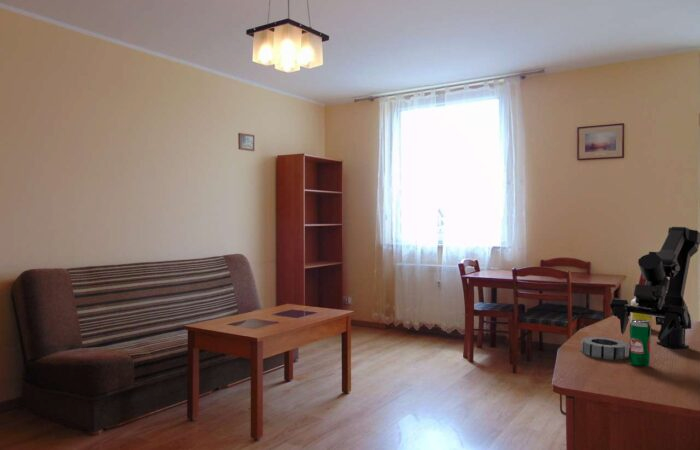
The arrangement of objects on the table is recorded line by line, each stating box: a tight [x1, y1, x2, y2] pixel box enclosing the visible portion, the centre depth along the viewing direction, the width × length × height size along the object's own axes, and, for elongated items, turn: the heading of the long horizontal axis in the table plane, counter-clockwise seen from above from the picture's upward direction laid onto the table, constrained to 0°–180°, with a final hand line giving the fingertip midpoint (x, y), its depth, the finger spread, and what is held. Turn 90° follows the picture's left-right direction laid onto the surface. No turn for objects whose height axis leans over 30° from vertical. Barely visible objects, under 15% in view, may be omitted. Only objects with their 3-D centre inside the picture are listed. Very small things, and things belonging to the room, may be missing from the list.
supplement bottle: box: [630, 296, 653, 327], centre depth 188 cm, size 7×7×13 cm
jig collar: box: [580, 336, 629, 361], centre depth 153 cm, size 12×12×4 cm
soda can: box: [628, 320, 652, 368], centre depth 142 cm, size 5×5×12 cm
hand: (640, 336), depth 142 cm, fingers open, 9 cm apart
